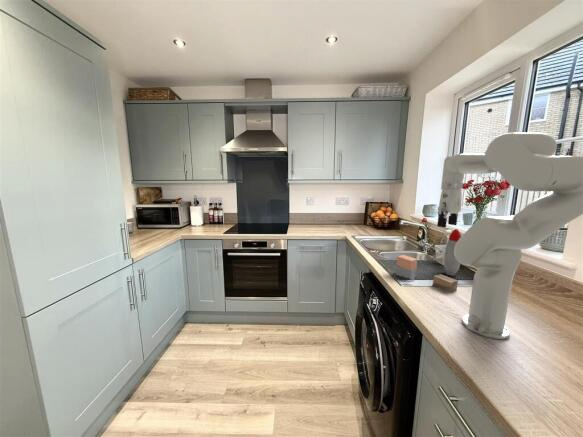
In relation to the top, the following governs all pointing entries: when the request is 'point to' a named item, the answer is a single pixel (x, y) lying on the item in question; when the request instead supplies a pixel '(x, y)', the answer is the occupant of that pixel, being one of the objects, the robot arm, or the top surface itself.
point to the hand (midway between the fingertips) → (446, 225)
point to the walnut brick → (445, 283)
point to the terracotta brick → (407, 262)
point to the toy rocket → (451, 254)
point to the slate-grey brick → (405, 272)
